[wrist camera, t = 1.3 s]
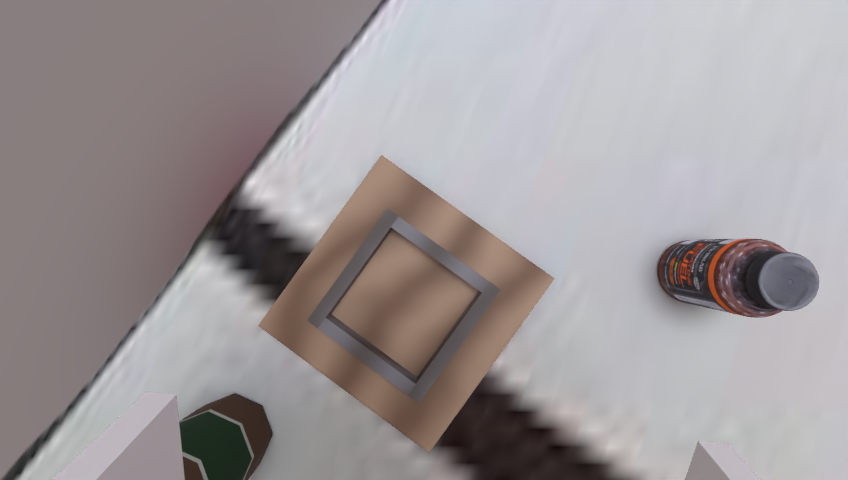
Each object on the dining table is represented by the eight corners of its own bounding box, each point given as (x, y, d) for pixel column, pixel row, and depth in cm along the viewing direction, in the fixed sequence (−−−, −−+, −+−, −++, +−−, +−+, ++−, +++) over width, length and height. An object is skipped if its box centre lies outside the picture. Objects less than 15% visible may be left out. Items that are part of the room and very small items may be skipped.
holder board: (551, 277, 39) (561, 280, 36) (429, 447, 39) (428, 464, 36) (382, 157, 40) (378, 149, 37) (262, 323, 40) (248, 329, 37)
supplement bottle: (661, 234, 39) (754, 228, 27) (724, 246, 39) (844, 245, 27) (650, 296, 39) (738, 315, 27) (713, 308, 38) (828, 332, 27)
